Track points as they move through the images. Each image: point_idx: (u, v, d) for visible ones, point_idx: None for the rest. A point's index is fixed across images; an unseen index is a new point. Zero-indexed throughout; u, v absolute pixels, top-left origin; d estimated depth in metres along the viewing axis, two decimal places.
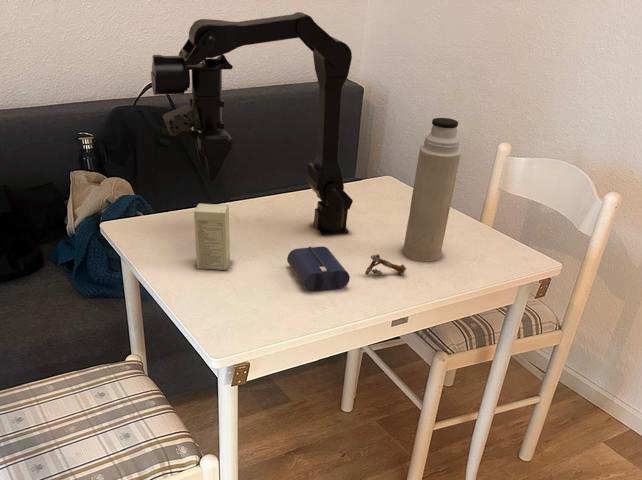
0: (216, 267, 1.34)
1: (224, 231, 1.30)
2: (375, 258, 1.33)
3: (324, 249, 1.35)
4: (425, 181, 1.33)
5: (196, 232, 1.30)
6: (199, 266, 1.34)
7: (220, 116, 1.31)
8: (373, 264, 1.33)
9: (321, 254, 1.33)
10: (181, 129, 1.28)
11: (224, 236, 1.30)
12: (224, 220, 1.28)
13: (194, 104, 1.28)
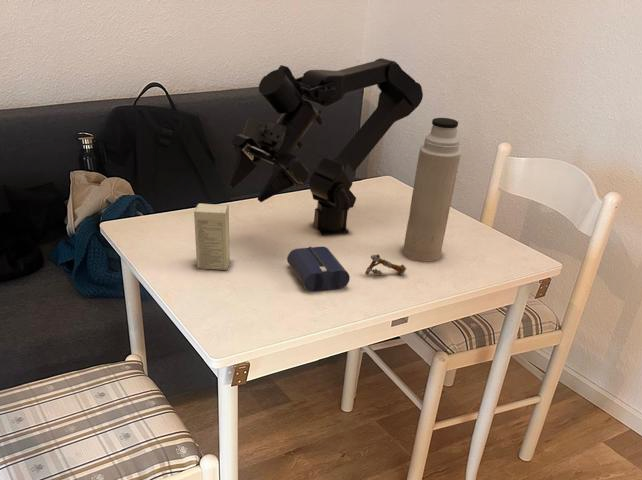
0: (216, 267, 1.34)
1: (224, 231, 1.30)
2: (375, 258, 1.33)
3: (324, 249, 1.35)
4: (425, 181, 1.33)
5: (196, 232, 1.30)
6: (199, 266, 1.34)
7: None
8: (373, 264, 1.33)
9: (321, 254, 1.33)
10: (272, 138, 1.26)
11: (224, 236, 1.30)
12: (224, 220, 1.28)
13: (286, 128, 1.29)
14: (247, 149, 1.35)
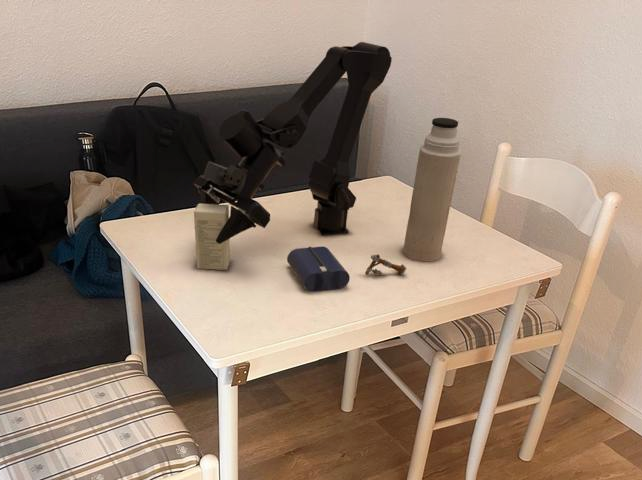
0: (216, 267, 1.34)
1: None
2: (375, 258, 1.33)
3: (324, 249, 1.35)
4: (425, 181, 1.33)
5: (196, 232, 1.30)
6: (199, 266, 1.34)
7: (252, 196, 1.32)
8: (373, 264, 1.33)
9: (321, 254, 1.33)
10: (232, 183, 1.24)
11: None
12: (224, 220, 1.28)
13: (247, 171, 1.28)
14: (212, 192, 1.33)
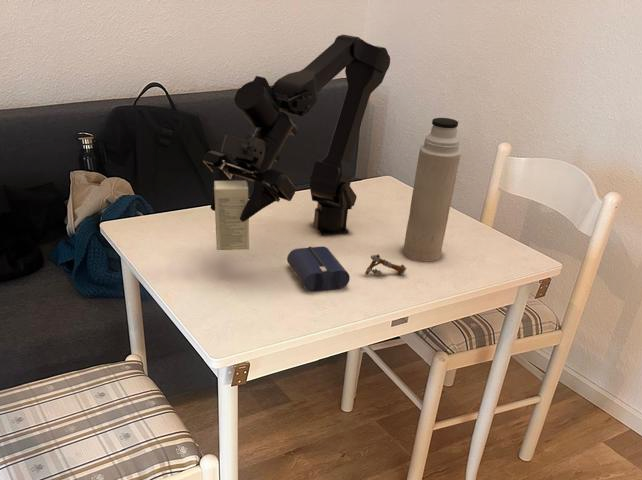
0: (238, 247, 1.26)
1: None
2: (375, 258, 1.33)
3: (324, 249, 1.35)
4: (425, 181, 1.33)
5: (216, 211, 1.22)
6: (219, 248, 1.26)
7: None
8: (373, 264, 1.33)
9: (321, 254, 1.33)
10: (256, 155, 1.17)
11: None
12: (247, 196, 1.21)
13: (265, 142, 1.21)
14: (225, 168, 1.25)
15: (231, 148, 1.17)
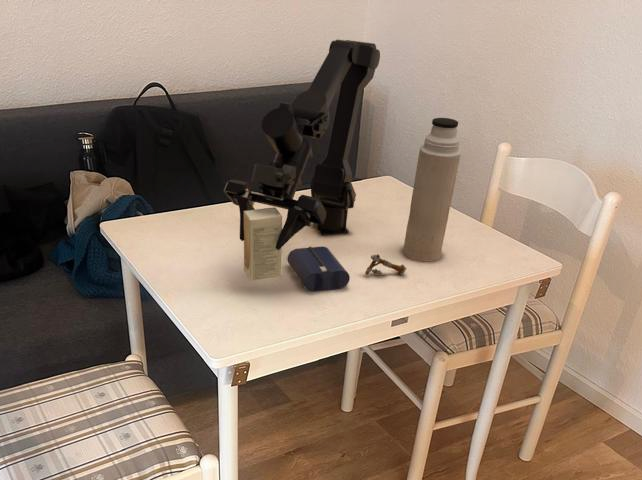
0: (270, 275, 1.25)
1: None
2: (375, 258, 1.33)
3: (324, 249, 1.35)
4: (425, 181, 1.33)
5: (251, 242, 1.19)
6: (253, 278, 1.24)
7: None
8: (373, 264, 1.33)
9: (321, 254, 1.33)
10: (290, 182, 1.16)
11: None
12: (281, 224, 1.19)
13: None
14: (249, 196, 1.23)
15: (264, 177, 1.15)
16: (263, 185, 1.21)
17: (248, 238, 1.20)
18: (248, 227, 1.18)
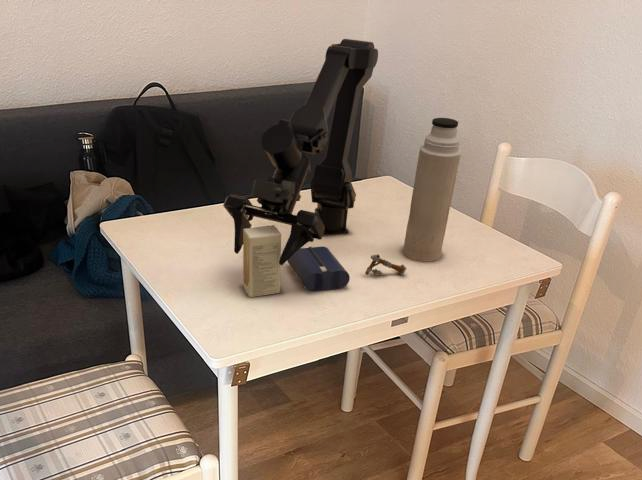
0: (269, 292, 1.26)
1: (279, 253, 1.23)
2: (375, 258, 1.33)
3: (324, 249, 1.35)
4: (425, 181, 1.33)
5: (250, 259, 1.21)
6: (252, 294, 1.26)
7: None
8: (373, 264, 1.33)
9: (321, 254, 1.33)
10: (289, 198, 1.17)
11: (279, 258, 1.23)
12: (280, 242, 1.21)
13: None
14: (244, 210, 1.25)
15: (264, 193, 1.17)
16: (262, 200, 1.22)
17: (247, 255, 1.22)
18: (247, 245, 1.20)
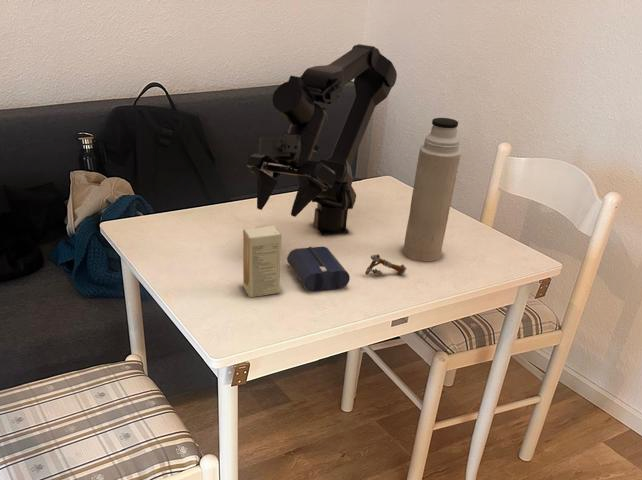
0: (269, 292, 1.26)
1: (279, 253, 1.23)
2: (375, 258, 1.33)
3: (324, 249, 1.35)
4: (425, 181, 1.33)
5: (250, 259, 1.21)
6: (252, 294, 1.26)
7: None
8: (373, 264, 1.33)
9: (321, 254, 1.33)
10: (291, 151, 1.22)
11: (279, 258, 1.23)
12: (280, 242, 1.21)
13: (300, 136, 1.25)
14: (265, 167, 1.32)
15: (267, 149, 1.23)
16: None
17: (247, 255, 1.22)
18: (247, 245, 1.20)
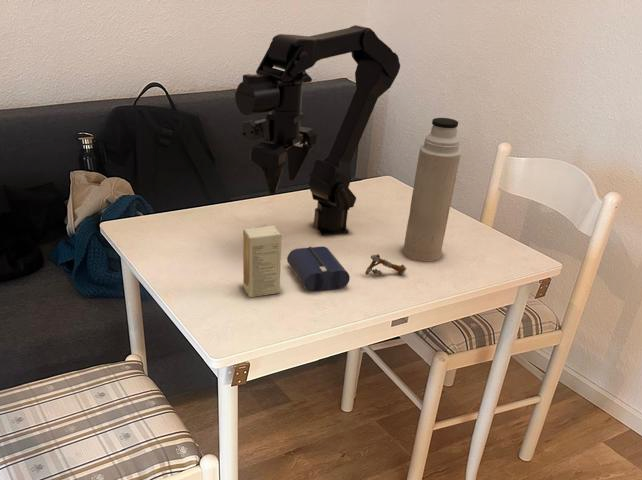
0: (269, 292, 1.26)
1: (279, 253, 1.23)
2: (375, 258, 1.33)
3: (324, 249, 1.35)
4: (425, 181, 1.33)
5: (250, 259, 1.21)
6: (252, 294, 1.26)
7: (292, 132, 1.29)
8: (373, 264, 1.33)
9: (321, 254, 1.33)
10: (248, 136, 1.31)
11: (279, 258, 1.23)
12: (280, 242, 1.21)
13: (267, 115, 1.29)
14: None
15: None
16: None
17: (247, 255, 1.22)
18: (247, 245, 1.20)
